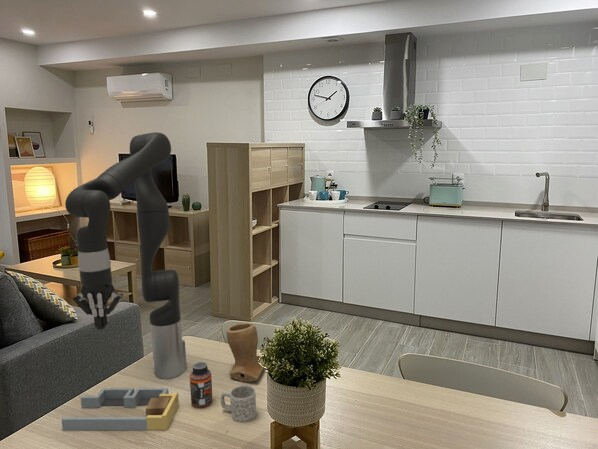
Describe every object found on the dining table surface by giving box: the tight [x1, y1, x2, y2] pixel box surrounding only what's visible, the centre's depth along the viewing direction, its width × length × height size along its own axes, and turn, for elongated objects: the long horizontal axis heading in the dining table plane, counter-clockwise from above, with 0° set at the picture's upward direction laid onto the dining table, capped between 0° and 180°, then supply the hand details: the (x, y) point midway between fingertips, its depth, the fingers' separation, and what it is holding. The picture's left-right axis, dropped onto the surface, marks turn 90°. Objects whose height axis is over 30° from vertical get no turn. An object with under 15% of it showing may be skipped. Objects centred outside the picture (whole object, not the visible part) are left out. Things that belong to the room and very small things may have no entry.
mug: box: [220, 385, 257, 423], centre depth 124 cm, size 10×7×7 cm
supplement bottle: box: [189, 361, 214, 409], centre depth 129 cm, size 6×6×11 cm
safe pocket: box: [145, 391, 180, 431], centre depth 123 cm, size 5×11×4 cm, turn 178°
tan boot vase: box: [226, 322, 265, 383], centre depth 146 cm, size 15×12×15 cm
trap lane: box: [61, 387, 170, 431], centre depth 126 cm, size 23×15×3 cm, turn 88°
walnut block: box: [145, 397, 170, 417], centre depth 123 cm, size 5×5×4 cm
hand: (101, 328), depth 124 cm, fingers closed
